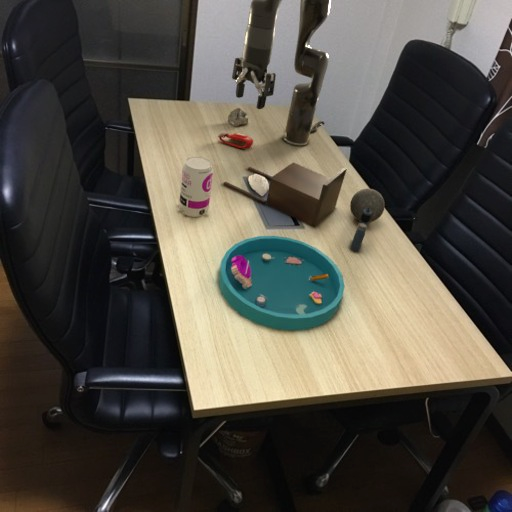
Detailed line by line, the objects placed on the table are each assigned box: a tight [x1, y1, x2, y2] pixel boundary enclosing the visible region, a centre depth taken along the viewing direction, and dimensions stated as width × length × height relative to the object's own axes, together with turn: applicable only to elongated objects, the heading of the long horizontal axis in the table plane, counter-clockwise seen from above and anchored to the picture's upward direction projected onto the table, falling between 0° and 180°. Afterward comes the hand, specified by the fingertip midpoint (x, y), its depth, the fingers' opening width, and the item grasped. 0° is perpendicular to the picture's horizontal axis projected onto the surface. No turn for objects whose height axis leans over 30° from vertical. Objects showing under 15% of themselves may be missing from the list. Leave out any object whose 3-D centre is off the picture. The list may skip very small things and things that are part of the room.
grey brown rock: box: [227, 107, 249, 127], centre depth 192 cm, size 4×8×7 cm, turn 108°
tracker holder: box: [217, 132, 254, 150], centre depth 180 cm, size 12×4×10 cm
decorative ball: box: [349, 188, 385, 223], centre depth 151 cm, size 10×10×10 cm
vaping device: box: [350, 208, 372, 253], centre depth 139 cm, size 3×5×12 cm, turn 161°
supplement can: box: [178, 155, 214, 218], centre depth 139 cm, size 8×8×15 cm
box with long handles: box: [223, 162, 347, 228], centre depth 153 cm, size 15×32×14 cm, turn 58°
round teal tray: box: [218, 235, 345, 332], centre depth 122 cm, size 30×30×6 cm
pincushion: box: [247, 169, 270, 197], centre depth 158 cm, size 12×6×6 cm, turn 12°
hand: (249, 102), depth 143 cm, fingers open, 8 cm apart
